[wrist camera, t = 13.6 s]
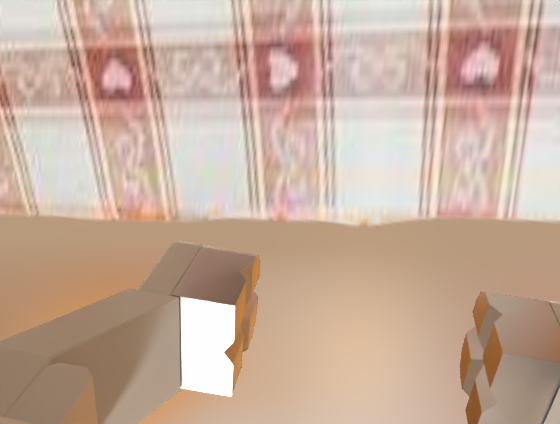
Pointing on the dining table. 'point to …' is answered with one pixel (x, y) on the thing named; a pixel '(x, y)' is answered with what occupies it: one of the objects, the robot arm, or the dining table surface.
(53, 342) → the robot arm
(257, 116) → the dining table surface
